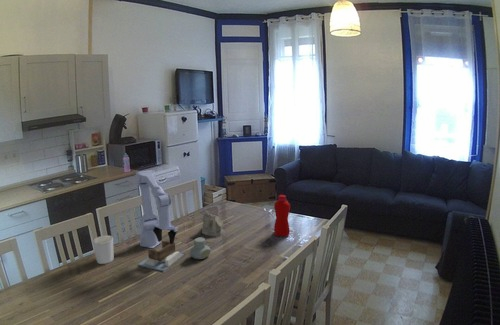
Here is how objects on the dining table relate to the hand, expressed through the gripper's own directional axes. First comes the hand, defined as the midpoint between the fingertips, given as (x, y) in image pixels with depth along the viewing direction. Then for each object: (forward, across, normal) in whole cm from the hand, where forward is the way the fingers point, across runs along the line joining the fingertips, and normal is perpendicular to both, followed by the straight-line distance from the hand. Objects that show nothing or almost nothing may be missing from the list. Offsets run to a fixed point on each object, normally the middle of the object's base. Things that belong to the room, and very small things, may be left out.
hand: (165, 242), depth 177 cm
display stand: (+10, +3, +1) cm, 11 cm away
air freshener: (+11, -14, -10) cm, 20 cm away
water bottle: (+10, -46, -55) cm, 73 cm away
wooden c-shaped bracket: (+7, +3, +1) cm, 8 cm away
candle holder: (+11, +30, +13) cm, 35 cm away
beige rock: (+11, -4, -43) cm, 44 cm away
